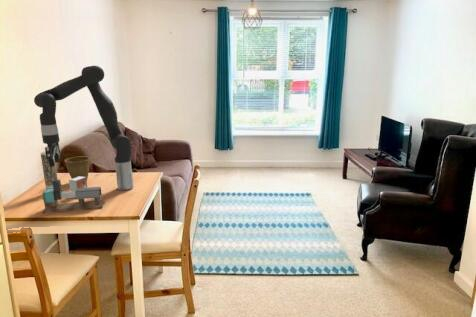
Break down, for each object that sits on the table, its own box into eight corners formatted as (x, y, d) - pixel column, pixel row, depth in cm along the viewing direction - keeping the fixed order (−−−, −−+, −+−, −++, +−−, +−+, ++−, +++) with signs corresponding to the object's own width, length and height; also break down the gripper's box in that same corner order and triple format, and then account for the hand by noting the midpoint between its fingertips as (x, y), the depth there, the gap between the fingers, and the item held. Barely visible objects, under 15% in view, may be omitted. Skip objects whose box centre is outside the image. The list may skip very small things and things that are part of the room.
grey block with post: (88, 195, 190) (86, 177, 188) (87, 197, 186) (84, 179, 184) (51, 198, 187) (48, 180, 185) (48, 200, 183) (45, 182, 181)
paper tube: (54, 195, 208) (48, 154, 202) (44, 194, 209) (37, 153, 203) (61, 191, 214) (56, 151, 208) (52, 191, 216) (46, 151, 210)
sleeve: (101, 194, 192) (100, 186, 191) (99, 197, 187) (98, 189, 186) (78, 196, 190) (77, 188, 189) (75, 199, 185) (74, 191, 184)
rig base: (105, 201, 196) (104, 192, 194) (101, 208, 186) (100, 198, 185) (49, 206, 191) (47, 196, 189) (42, 213, 181) (41, 202, 180)
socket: (57, 198, 188) (56, 188, 187) (54, 202, 183) (52, 192, 182) (47, 199, 188) (46, 189, 186) (44, 202, 182) (42, 192, 181)
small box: (78, 198, 202) (76, 180, 200) (70, 197, 204) (68, 179, 202) (88, 193, 210) (86, 176, 207) (81, 192, 212) (78, 176, 209)
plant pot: (64, 182, 232) (61, 159, 229) (87, 177, 242) (84, 155, 238) (72, 187, 222) (68, 163, 218) (96, 182, 231) (93, 158, 228)
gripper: (53, 135, 172) (58, 167, 176) (62, 130, 186) (66, 160, 190) (37, 136, 171) (42, 168, 175) (46, 131, 184) (51, 161, 188)
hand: (54, 164), depth 182 cm, fingers open, 8 cm apart
